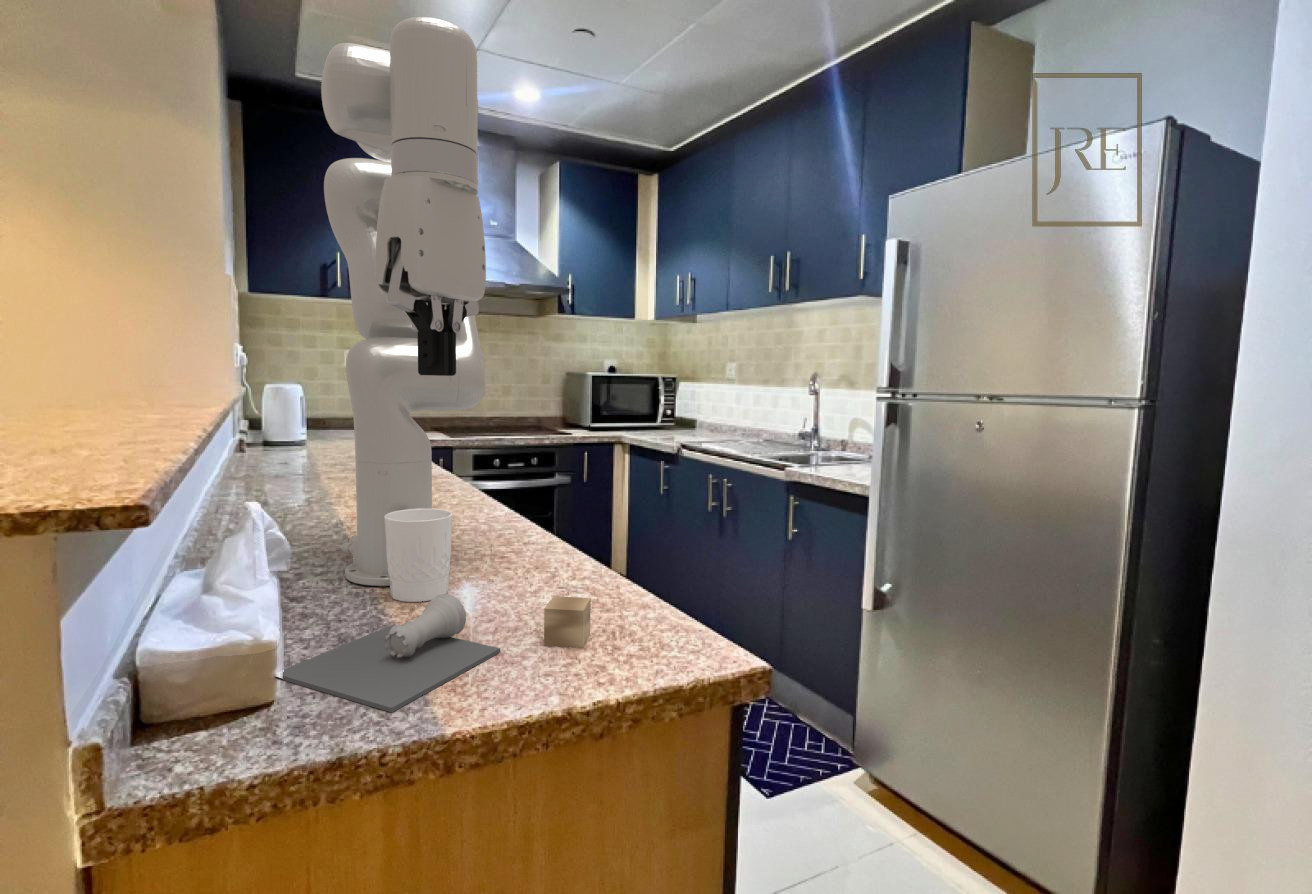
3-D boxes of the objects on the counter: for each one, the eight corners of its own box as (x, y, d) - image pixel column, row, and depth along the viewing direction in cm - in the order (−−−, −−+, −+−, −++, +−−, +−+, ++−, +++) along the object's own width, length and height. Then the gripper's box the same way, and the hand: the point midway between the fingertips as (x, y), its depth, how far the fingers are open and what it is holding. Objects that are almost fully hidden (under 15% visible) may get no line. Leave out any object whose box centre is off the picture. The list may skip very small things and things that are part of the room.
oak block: (543, 646, 71) (544, 608, 70) (553, 632, 75) (553, 596, 74) (582, 649, 70) (583, 610, 70) (590, 634, 74) (590, 598, 74)
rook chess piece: (472, 633, 71) (417, 669, 64) (438, 632, 73) (381, 667, 66) (464, 591, 71) (408, 622, 64) (430, 592, 73) (372, 622, 66)
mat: (274, 677, 62) (274, 673, 62) (394, 627, 75) (394, 624, 75) (391, 712, 56) (391, 707, 56) (500, 652, 69) (500, 648, 69)
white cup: (425, 608, 81) (424, 523, 80) (371, 599, 84) (369, 517, 83) (465, 589, 89) (465, 511, 88) (415, 581, 91) (414, 506, 90)
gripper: (458, 196, 72) (459, 375, 74) (337, 153, 58) (342, 373, 60) (518, 189, 69) (517, 376, 71) (404, 142, 55) (407, 375, 57)
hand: (437, 374), depth 66 cm, fingers closed
